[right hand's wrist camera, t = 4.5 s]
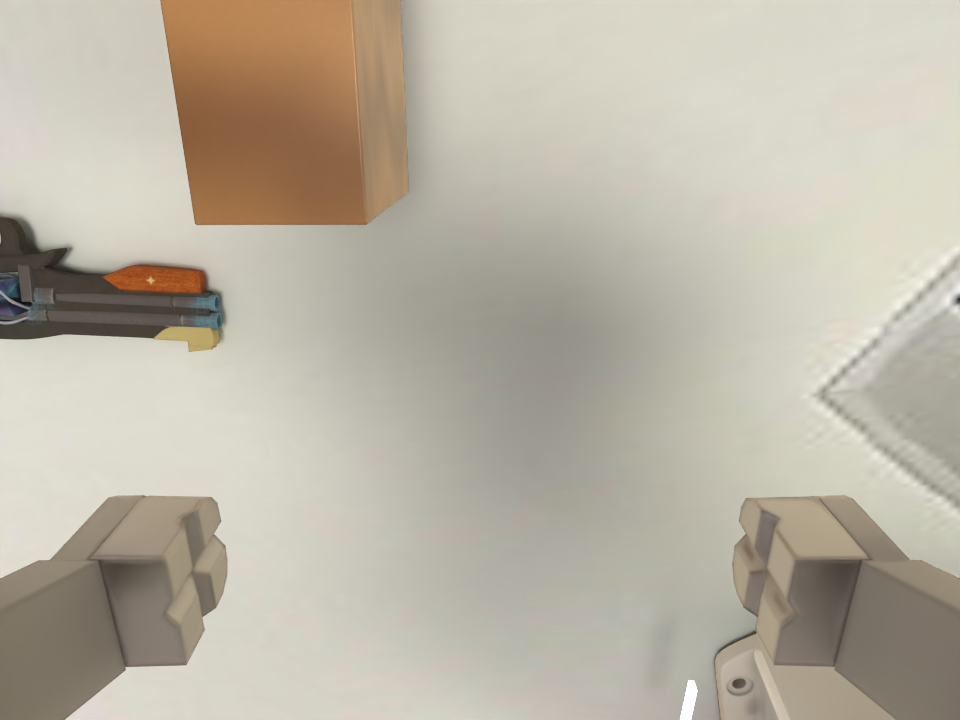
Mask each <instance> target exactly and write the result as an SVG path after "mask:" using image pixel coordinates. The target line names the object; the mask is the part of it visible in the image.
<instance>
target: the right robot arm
mask: <svg viewBox="0 0 960 720" xmlns="http://www.w3.org/2000/svg"><path fill="white" fill-rule="evenodd" d="M220 522H221V518H220V513H219V508H218V504H217V502H216V501H215V500H214V499H213V498H212V497H183V496H144V495H140V496H114V497H110V498H108V499H107V500H106V501H105V502H104V503H103V504H102V505H101V506H100V507H99V508H98V509H97V510H96V511H95V512H94V513H93V515H92V516H91V517H90V518H89V519H88V520H87V521H86V522H85V523H84V524H83V525H82V526H81V527H80V528H79V530H78V531H77V532H76V533H75V534H74V535H73V536H72V537H71V538H70V539H69V540H68V541H67V542H66V543H65V545H64V546H63V547H62V548H61V549H60V550H59V551H58V552H57V553H56V554H55V555H54V556H53V557H52V558H51V559H50V560H39V561H37V562H34V563H32V564H30V565H28V566H26V567H24V568H22V569H20V570H18V571H15V572H13V573H11V574H9V575H7V576H5V577H3V578H1V579H0V720H65V719H66V718H67V717H68V716H70V715H71V714H72V713H73V712H75V711H76V710H77V709H78V708H80V707H81V706H82V705H83V704H84V703H86V702H87V701H88V700H89V699H91V698H92V697H93V696H94V695H96V694H97V693H98V692H99V691H100V690H102V689H103V688H104V687H105V686H107V685H108V684H109V683H110V682H112V681H113V680H114V679H115V678H116V677H118V676H119V675H120V674H121V673H123V672H124V671H125V667H140V666H175V665H187V663H188V661H189V659H190V657H191V655H192V653H193V651H194V649H195V648H196V646H197V644H198V642H199V640H200V638H201V636H202V634H203V632H204V630H205V629H204V624H203V618H202V617H203V616H205V615H206V614H208V613H209V612H211V611H212V610H214V609H215V608H216V607H217V605H218V603H219V601H220V599H221V597H222V595H223V591H224V587H225V582H226V578H227V554H226V547H225V545H224V544H223V543H222V542H221V541H220V540H219V539H218V538H217V537H216V536H215V535H214V532H215V531H216V529H217V527H218V526H219V524H220ZM739 522H740V524H741V526H742V527H743V529H744V531H745V532H746V535H745V536H744V537H743V538H742V539H741V540H740V541H739V542H738V543H737V544H736V545H735V547H734V555H733V563H732V566H733V577H734V584H735V588H736V591H737V594H738V597H739V599H740V601H741V603H742V605H743V607H744V608H745V609H746V610H748V611H749V612H751V613H752V614H754V615H755V616H757V617H758V618H757V624H756V629H755V630H756V632H757V633H756V634H754V635H751V636H749V637H747V638H744V639H742V640H740V641H738V642H735V643H733V644H731V645H729V646H728V647H726V648H724V649H723V650H722V651H720V652H719V653H718V655H717V656H716V659H715V671H716V681H717V690H718V699H719V709H720V718H721V720H960V579H959V578H957V577H955V576H953V575H951V574H949V573H947V572H944V571H942V570H940V569H938V568H936V567H934V566H932V565H930V564H928V563H926V562H923V561H921V560H910V559H909V558H908V557H907V556H906V555H905V554H904V553H903V552H902V551H901V550H900V549H899V548H898V547H897V546H896V544H895V543H894V542H893V541H892V540H891V539H890V538H889V537H888V536H887V535H886V534H885V533H884V532H883V531H882V529H881V528H880V527H879V526H878V525H877V524H876V523H875V522H874V521H873V520H872V519H871V518H870V517H869V516H868V514H867V513H866V512H865V511H864V510H863V509H862V508H861V507H860V506H859V505H858V504H857V503H856V502H855V501H854V499H852V498H850V497H848V496H845V495H834V496H812V497H774V498H746V499H745V501H744V503H743V505H742V507H741V512H740V518H739ZM738 678H740V679H738ZM735 679H737V680H735ZM696 694H697V689H696V685H695V682H694V681H692V680H689V681H688V686H687V690H686V695H685V700H684V704H683V709H682V714H681V718H680V720H691V717H692V712H693V708H694V703H695V699H696Z"/></svg>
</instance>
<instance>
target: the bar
mask: <svg viewBox="0 0 960 720" xmlns="http://www.w3.org/2000/svg"><path fill="white" fill-rule="evenodd" d="M160 1H161V7H162V13H163V20H164V26H165V33H166V39H167V46H168V52H169V58H170V65H171V71H172V78H173V84H174V91H175V97H176V103H177V110H178V116H179V123H180V129H181V136H182V142H183V149H184V155H185V161H186V168H187V174H188V181H189V187H190V194H191V200H192V206H193V213H194V219H195V224H196V225H366V224H368V223H369V222H370V221H372V220H373V219H374V218H375V217H377V216H378V215H379V214H381V213H382V212H383V211H384V210H386V209H387V208H388V207H390V206H391V205H392V204H394V203H395V202H396V201H397V200H399V199H400V198H401V197H403V196H404V195H405V194H406V193H408V192H409V178H408V156H407V133H406V111H405V88H404V66H403V44H402V21H401V0H160Z"/></svg>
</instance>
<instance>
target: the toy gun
mask: <svg viewBox="0 0 960 720" xmlns="http://www.w3.org/2000/svg"><path fill="white" fill-rule="evenodd" d="M0 234H1V244H0V273H8V272H18V274H19V278H17V277H15V276H12V275H7V274H5V275H0V278H2V277H10V278H9V279H0V316H16V315H19V314H21V313H24V312H27V311H28V315H27V316H26V317H22V318H20V319H17V320H0V339H36V338H44V337H51V336H57V335H62V334H73V335H96V336H119V337H142V338H153V339H160V340H177V341H188V347H189V352H192V351H201V350H210V349H213V347H216V344H218V343H219V333H218V330H220V328H221V326H222V315H221V313H220V312H214V311H217V310H218V309H219V306H220V299H219V296H218V295H216V294H213V292H206V291H205V277H204V274H203V272H202V271H199V270H190V269H180V268H168V267H155V266H142V265H135V266H130V267H126V268H123V269H121V270H118V271H115V272H113V273H110V274H108V275H105V276H103V275H84V274H74V273H69V272H65V271H62V270H59V269H56V268H54V267H52V266H54V265H55V264H57V263H58V262H59V260H60V259H61V258H62V257H63V255H64V254H65V252H66V251H67V248H60V249H53V250H50V251H46V252H43V253H38V254H31V252H30V251H29V250H28V249H27V246H26V237H25V233H24V231H23V229H22V227H21V226H20V225H19V224H18V222H16V221H15V220H13V219H10V218H0ZM25 319H28V320H26V321H23V320H25Z"/></svg>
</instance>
